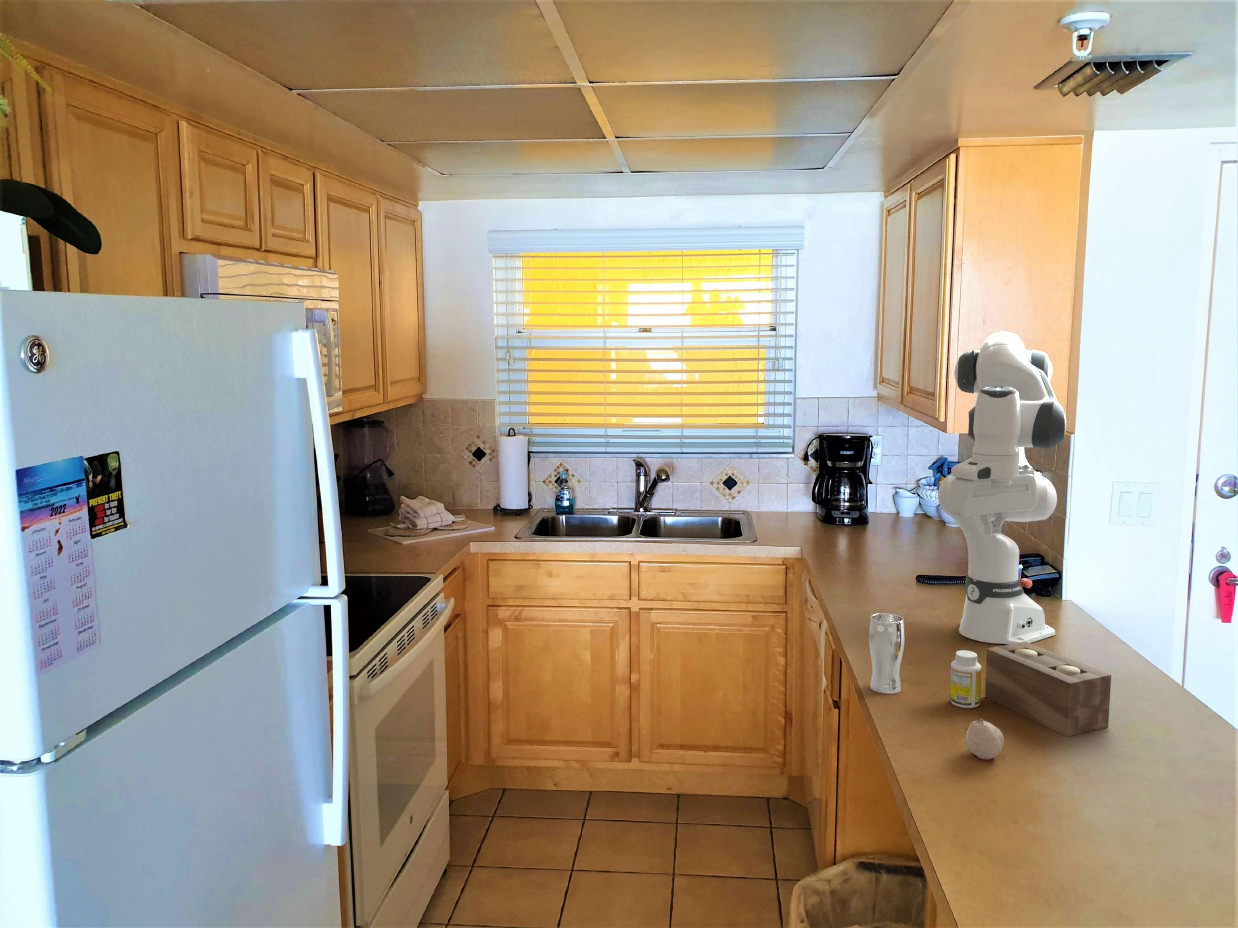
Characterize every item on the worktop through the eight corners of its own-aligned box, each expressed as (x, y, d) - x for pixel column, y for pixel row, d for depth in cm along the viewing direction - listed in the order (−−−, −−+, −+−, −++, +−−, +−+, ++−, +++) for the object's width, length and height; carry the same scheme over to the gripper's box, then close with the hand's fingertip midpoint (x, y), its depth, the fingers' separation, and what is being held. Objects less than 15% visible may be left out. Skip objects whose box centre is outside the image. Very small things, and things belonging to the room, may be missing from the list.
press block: (1023, 688, 187) (1025, 641, 185) (1108, 726, 168) (1111, 674, 167) (984, 696, 183) (986, 648, 182) (1067, 736, 164) (1070, 683, 163)
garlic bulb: (955, 751, 159) (957, 707, 158) (983, 744, 162) (985, 701, 161) (984, 767, 153) (986, 722, 152) (1013, 760, 156) (1015, 715, 155)
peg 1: (1023, 691, 183) (1025, 647, 181) (1039, 698, 179) (1041, 653, 178) (1008, 694, 181) (1010, 650, 180) (1024, 701, 177) (1026, 656, 176)
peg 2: (1064, 709, 173) (1067, 663, 172) (1082, 717, 170) (1085, 670, 168) (1048, 713, 172) (1051, 667, 171) (1066, 721, 168) (1068, 674, 167)
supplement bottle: (971, 697, 183) (973, 647, 181) (985, 708, 177) (987, 657, 176) (944, 698, 182) (946, 649, 181) (957, 710, 177) (959, 659, 175)
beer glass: (861, 689, 188) (863, 618, 186) (877, 679, 193) (879, 610, 191) (893, 697, 183) (895, 625, 181) (909, 687, 188) (911, 617, 186)
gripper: (1022, 461, 192) (1019, 526, 194) (944, 468, 185) (942, 535, 187) (1046, 465, 187) (1043, 532, 188) (967, 472, 179) (964, 542, 181)
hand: (992, 534), depth 188 cm, fingers closed
